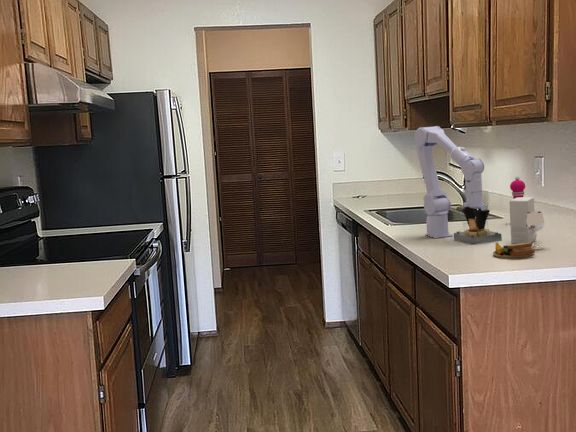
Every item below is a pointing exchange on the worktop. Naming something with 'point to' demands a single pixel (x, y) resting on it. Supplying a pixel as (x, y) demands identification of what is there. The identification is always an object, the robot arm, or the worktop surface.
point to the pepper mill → (517, 188)
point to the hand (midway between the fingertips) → (476, 227)
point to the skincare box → (521, 220)
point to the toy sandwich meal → (514, 251)
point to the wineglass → (534, 224)
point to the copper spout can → (473, 225)
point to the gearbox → (477, 236)
